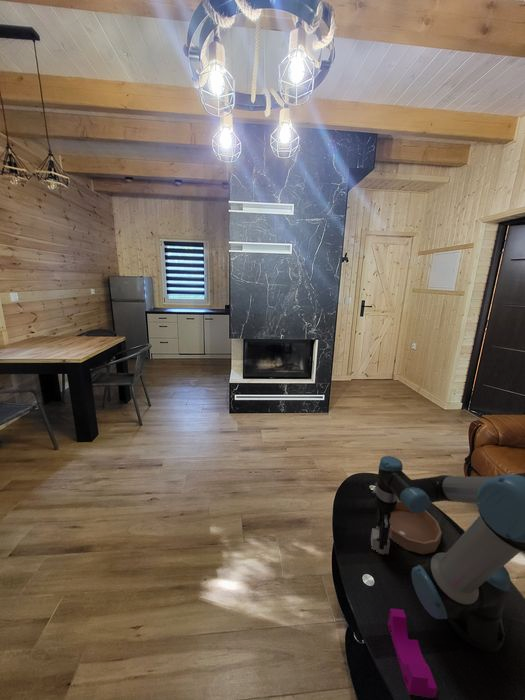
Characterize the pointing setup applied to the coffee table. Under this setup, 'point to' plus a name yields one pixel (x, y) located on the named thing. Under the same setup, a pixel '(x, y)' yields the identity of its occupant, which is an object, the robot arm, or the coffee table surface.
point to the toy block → (410, 657)
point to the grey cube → (374, 541)
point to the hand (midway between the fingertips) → (379, 547)
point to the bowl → (414, 530)
